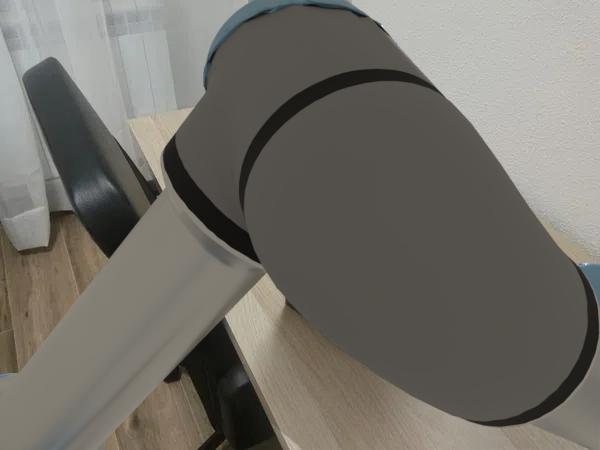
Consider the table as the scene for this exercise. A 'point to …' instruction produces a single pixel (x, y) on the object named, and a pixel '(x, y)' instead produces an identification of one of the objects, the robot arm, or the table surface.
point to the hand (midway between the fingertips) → (334, 248)
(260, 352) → the table surface
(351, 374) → the table surface
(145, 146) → the table surface
